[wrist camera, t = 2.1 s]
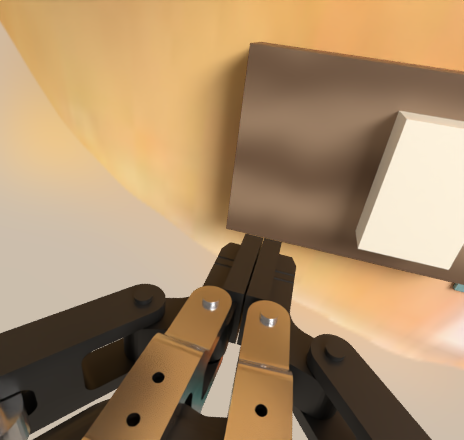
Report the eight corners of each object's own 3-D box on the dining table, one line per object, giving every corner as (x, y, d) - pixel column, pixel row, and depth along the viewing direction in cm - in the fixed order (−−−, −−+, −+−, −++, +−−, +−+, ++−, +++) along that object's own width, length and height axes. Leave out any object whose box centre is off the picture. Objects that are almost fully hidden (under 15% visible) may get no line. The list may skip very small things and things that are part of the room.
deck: (261, 42, 25) (250, 43, 21) (563, 86, 22) (607, 95, 18) (237, 207, 32) (226, 228, 28) (462, 259, 29) (480, 289, 25)
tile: (399, 110, 21) (406, 119, 19) (503, 128, 20) (523, 139, 18) (355, 230, 26) (357, 248, 23) (438, 249, 25) (448, 269, 23)
